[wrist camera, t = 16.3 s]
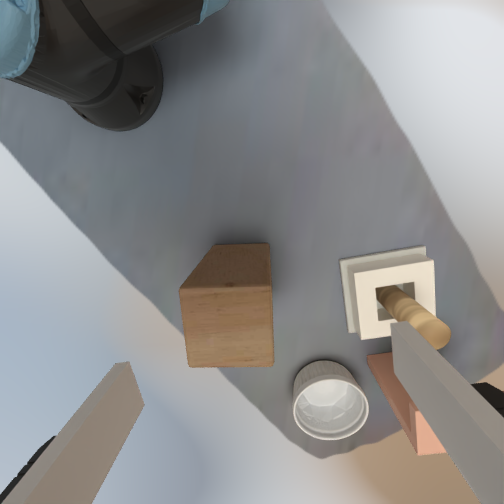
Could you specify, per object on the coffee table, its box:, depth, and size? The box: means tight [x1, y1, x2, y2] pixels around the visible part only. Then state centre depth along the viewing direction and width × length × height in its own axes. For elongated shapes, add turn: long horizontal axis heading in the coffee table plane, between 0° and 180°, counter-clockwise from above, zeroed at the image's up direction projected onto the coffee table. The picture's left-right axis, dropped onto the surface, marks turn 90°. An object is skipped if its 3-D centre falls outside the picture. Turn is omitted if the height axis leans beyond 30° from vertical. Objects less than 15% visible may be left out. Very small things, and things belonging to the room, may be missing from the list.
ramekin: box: [292, 361, 369, 440], centre depth 51 cm, size 13×13×7 cm
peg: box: [375, 285, 451, 350], centre depth 41 cm, size 4×4×14 cm
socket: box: [339, 245, 436, 340], centre depth 46 cm, size 14×14×5 cm
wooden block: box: [179, 243, 274, 368], centre depth 39 cm, size 10×10×20 cm
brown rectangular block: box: [367, 352, 504, 455], centre depth 43 cm, size 7×12×18 cm, turn 101°
